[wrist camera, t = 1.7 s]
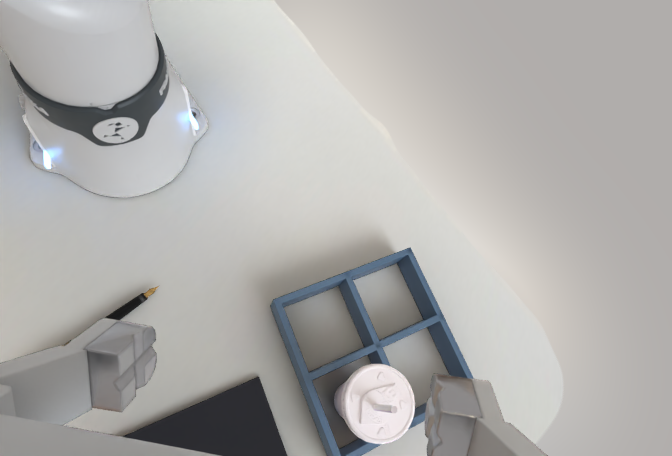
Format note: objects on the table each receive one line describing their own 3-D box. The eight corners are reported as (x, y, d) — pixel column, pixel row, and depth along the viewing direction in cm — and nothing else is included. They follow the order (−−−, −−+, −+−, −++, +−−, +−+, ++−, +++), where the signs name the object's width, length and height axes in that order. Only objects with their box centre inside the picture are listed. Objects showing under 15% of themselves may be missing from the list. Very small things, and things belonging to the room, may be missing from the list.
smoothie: (308, 396, 44) (340, 399, 31) (353, 355, 46) (400, 342, 34) (347, 448, 43) (397, 473, 30) (391, 403, 45) (454, 409, 33)
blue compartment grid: (270, 305, 46) (273, 299, 43) (399, 256, 52) (410, 247, 49) (329, 462, 42) (338, 468, 39) (463, 390, 48) (479, 390, 45)
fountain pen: (157, 282, 44) (154, 279, 43) (163, 291, 44) (161, 288, 43) (16, 380, 39) (9, 380, 37) (24, 391, 38) (16, 391, 37)
